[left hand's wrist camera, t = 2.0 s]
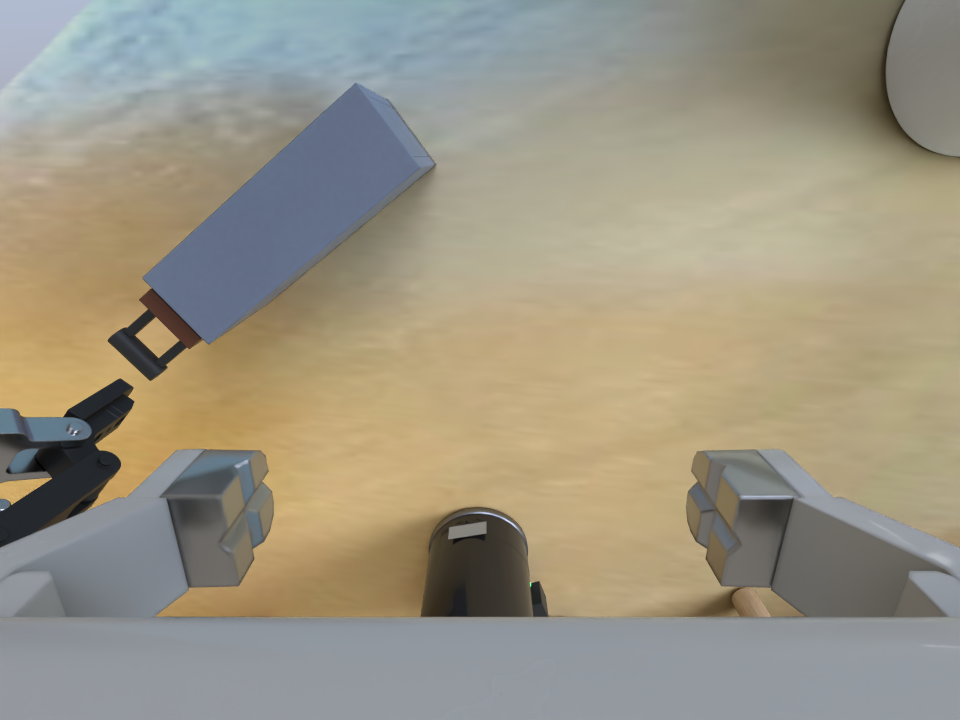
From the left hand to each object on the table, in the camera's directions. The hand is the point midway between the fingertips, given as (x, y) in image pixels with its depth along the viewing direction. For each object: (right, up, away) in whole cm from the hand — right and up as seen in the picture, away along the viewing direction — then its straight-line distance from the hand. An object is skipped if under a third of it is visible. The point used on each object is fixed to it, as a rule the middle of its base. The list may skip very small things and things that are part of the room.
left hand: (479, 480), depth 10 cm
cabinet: (-12, +14, +30) cm, 35 cm away
